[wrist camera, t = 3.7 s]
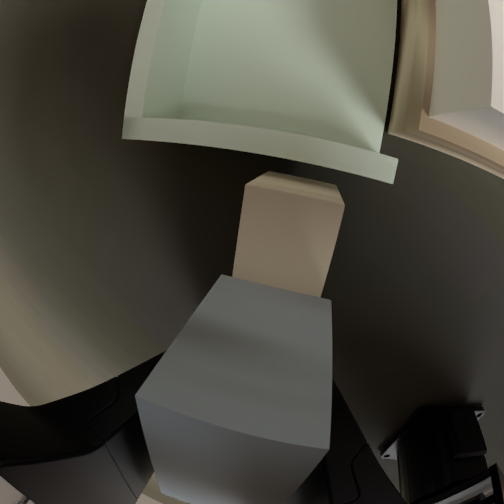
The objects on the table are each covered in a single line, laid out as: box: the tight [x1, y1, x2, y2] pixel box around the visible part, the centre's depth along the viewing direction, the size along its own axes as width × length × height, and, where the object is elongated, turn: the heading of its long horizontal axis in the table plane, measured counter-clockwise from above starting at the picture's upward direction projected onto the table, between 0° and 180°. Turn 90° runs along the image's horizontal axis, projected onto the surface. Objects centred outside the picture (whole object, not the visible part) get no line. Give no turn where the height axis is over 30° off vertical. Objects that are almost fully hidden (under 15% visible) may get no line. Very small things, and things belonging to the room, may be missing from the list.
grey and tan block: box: [135, 171, 345, 504], centre depth 8 cm, size 10×3×8 cm, turn 171°
